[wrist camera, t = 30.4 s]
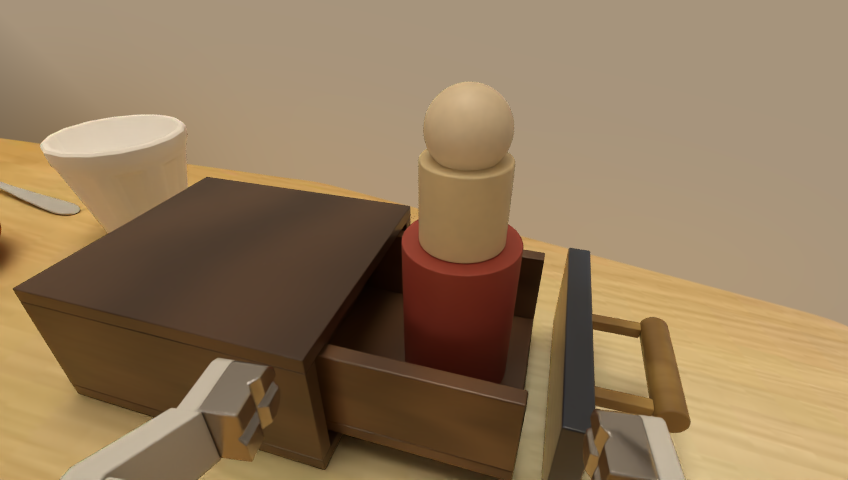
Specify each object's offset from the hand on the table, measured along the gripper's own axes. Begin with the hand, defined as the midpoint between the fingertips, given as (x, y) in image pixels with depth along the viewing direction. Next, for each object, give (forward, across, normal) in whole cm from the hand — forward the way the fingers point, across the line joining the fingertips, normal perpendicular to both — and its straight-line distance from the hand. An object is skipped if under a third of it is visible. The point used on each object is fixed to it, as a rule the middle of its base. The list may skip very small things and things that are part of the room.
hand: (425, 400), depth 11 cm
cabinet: (+12, +12, +11) cm, 20 cm away
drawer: (+10, -1, +10) cm, 14 cm away
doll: (+10, 0, +9) cm, 14 cm away
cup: (+23, +29, +12) cm, 38 cm away
